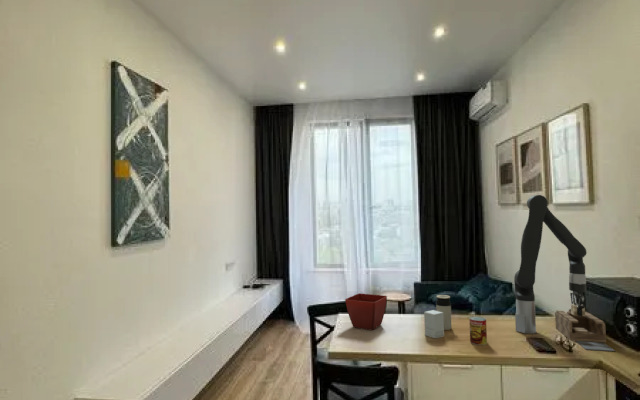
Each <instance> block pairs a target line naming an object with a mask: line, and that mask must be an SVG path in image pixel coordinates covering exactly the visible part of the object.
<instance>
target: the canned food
mask: <svg viewBox="0 0 640 400" xmlns="http://www.w3.org/2000/svg"><path fill="white" fill-rule="evenodd" d="M468 318H469V319H468V321H469V340H470V341H469V342H470V343H471V344H473V345H477V346H485V345H487V344H488V337H487V336H488V335H487V318H486V317H483V316H476V315H475V316H470V317H468Z"/></svg>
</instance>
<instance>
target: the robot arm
mask: <svg viewBox="0 0 640 400" xmlns="http://www.w3.org/2000/svg"><path fill="white" fill-rule="evenodd" d="M526 201H527V202H526V206H527V208H528V219H527V222H526V225H525V227H524V230H523V232H522V238H521V243H520V260H521V261H520V265H519V270H518V271H517V272H515V273H514V279H513V280H514V281H513V282H514V293H515V307H516V311H515V313H514V314H515V315H514V316H515V317H514V318H515V331H516V332H518V333H522V334H530V335H532V334H536V333H537V325H536V319H537V317H536V301H535V300H536V297H535V293H534V284H535V283H536V267H537V261H538V257H539V253H540V248H541V243H542V235H543V227H544V225H543V224H545V225H546V227H547V228H548V229H549V231H550V232H551V233H552V234H553V235H554V237H555V238H556V239H557V240H558V241H559V242H560V243H561V244H562V245H564V246H565V248H566V249H567V257H568V262H569V274H568V275H569V276H568V286H569V287H568V290H569V291H570V293H569V295H570V301H571V304H575V305H577V315H578V316H582V309H583V308H585V309H586V306H585V305H586V297H584V294H583V293H586V292H587V276H586V265H585V263H584V259H583V258H585V257H586V256H587V253H588V252H587V248H586V247H585V246H584V245H583V244H582V243H581V242H580V241H579V240H578V239H577V238H576V237H575V236H574V235H573V233H572V232H571V231H570V229H568V227H567V226H566V225H565V224H564V223H563V222H562V221H561V220H559V218H557V217H556V216H555V215H554V214H553V213H552V211H551V210H550V209H549V207H548V205H549V203H548V200H547V198H546V197H545V196H544V195H541V194H536V195H535V194H534V195H531V196H530V197H528V199H527V200H526ZM580 305H581V306H580Z"/></svg>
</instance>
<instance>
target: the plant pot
mask: <svg viewBox="0 0 640 400" xmlns="http://www.w3.org/2000/svg"><path fill="white" fill-rule="evenodd" d="M387 299H388V296H387V295H381V294H373V293H372V294H370V293H356V294H354V295H351V296H349V297H347V298H345V299H344V302H345V305H346V310H347V313H348V317H349V320H350V322H351V325H352V326H353V328H354V327H356V329H361V328H362V330H369V331H370V330H371V331H374V330H375V329H377V328H378V327H380V326H381V325H382V323H383V319H384V316H385V312H386V306H387Z"/></svg>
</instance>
